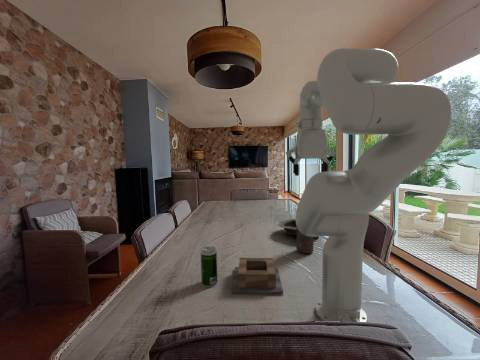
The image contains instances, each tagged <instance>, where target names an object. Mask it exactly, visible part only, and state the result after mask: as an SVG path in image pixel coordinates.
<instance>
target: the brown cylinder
mask: <svg viewBox="0 0 480 360" xmlns="http://www.w3.org/2000/svg"><path fill="white" fill-rule="evenodd" d="M295 246H296V251H298V252H299V253H305V254H309V253H313V252H314V239H313V236H306V235H304V234H302V233H301V232H300V231H299V230H298V228H297V235H296V245H295Z"/></svg>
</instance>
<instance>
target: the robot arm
mask: <svg viewBox="0 0 480 360" xmlns="http://www.w3.org/2000/svg"><path fill="white" fill-rule="evenodd" d="M398 72H399V63H398V60H397V58H396V57H395V55H394V54H393V53H392V52H390V51H387V50H384V49H381V48H343V47H342V48H336V49H334V50H332V51H330V52H329V53H327V54H326V55H325V57H324V58H323V59H322V60H321V63H320V65H319V67H318V70H317V75H316V80H310V81H307V82H306V83H305V84H304V86H303V87H302V88H301V91H300V93H299V122H295V127H296V128H298V129H299V130H297V133H296V140H295V147H293V148H290V149H289V150H287V151H285V155H286V156H287V159H288V161H290V162H291V164H292V166H293V167H292V170H293V171H292V173H293V174H294V176H296V177H298V176H300V165H299V162H300V161H301V160H303V159H305V160H307V159H310V160H311V159H319V160H320V161H321V162H322V163H321V165H320V166H321V167H320V168H321V171H320V172H317V173H316V174H313V175H312V176H311V177H310V178H309V180H308V181H307V183H306V186H305V188H304V190H303V193H302V195H301V197H300V200H299V201H298V204H297V206H296V207H297V208H296V210H295V217H294V219H295V220H296V225H297V228H298V230H299V231H300V232H301V233H302V234H304V235H306V236H316V237H317V236H319V237H327V239H326V241H325V242H324V245H323V247H322V264H321V265H322V268H321V269H322V272H321V273H322V274H321V278H322V279H321V299H319V300H318V301H317V303H316V304H315V312H316V315H317V317H318V318H319V320H321V321H322V322H323V321H340V322H367V323H368V315H367V313H366V311H365V310H364V309H363V308H362V288H363V287H362V286H363V263H364V261H363V257H364V244H365V238H366V234H367V230H368V226H369V222H370V221H369V220H370V213H371V212H374V211H375V210H377V209H378V208H379V207H380V206H381V205H382V203H384V202H385V201H386V199H388V197H389V196H390V195H392V193H393V192H394V191H395V190H397V188H398V187H399V186H400V185H401V183H403V181H404V180H406V178H407V177H409V176H410V175H411V174H412V173H414V171H416V170H417V169H418V168H419V167H421V165H423V164H424V163H425V162H426V161H427V160H428V159H430V157H431V156H433V154H434V153H435V152H436V151H437V149H438V148H439V147H440V146H441V144H442V143H443V141H444V139H445V138H446V136H447V133H448V131H449V127H450V124H451V120H452V106H451V101H450V99H449V97H448V95H447V94H446V93H445V92H444V91H443V90H442V89H440V88H438V87H437V86H434V85H430V84H427V83H426V84H425V83H419V82H394V80H395V79H396V78H397V75H398V74H399V73H398ZM323 107H325V109H326V111H327V114H328V116H329V119H330V121H331V123H332V125H333V127H335V129H336V130H337V131H338V132H340V133H342V134H345V135H353V136H354V135H360V136H361V135H386V136H385V137H384V138H382V139H381V140H379V141H376V143H374V144H373V145H371V146H370V147H368V148H367V149H366V150H365V151H364V152H363V153H362V154H361V155H360V157H359V158H358V159H357V161H356V163H355V164H354V166H353V167H352V168H350V169H346V170H334V171H333V170H332V171H330V170H329V169H328V167H329V164H330V162H331V161H332V160H334V157H335V155H336V150H334V149H333V148H331V147H328V141H327V134H326V129H324V128H323V114H324V113H323V112H324V111H323V109H324V108H323ZM292 153H294V154H295V158H294V157H293V156H292ZM328 153H329V154H328Z"/></svg>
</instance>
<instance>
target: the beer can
mask: <svg viewBox="0 0 480 360" xmlns="http://www.w3.org/2000/svg"><path fill="white" fill-rule="evenodd" d="M217 255H218V251H217V248H216V247H214V246H204V247H202V248H201V249H200V273H201V275H200V276H201V278H200V279H201V280H200V281H201V285H202V286H203V287H204V288H213V287H215V286H216V285H217V284H218V256H217Z"/></svg>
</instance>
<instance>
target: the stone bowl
mask: <svg viewBox="0 0 480 360" xmlns="http://www.w3.org/2000/svg"><path fill="white" fill-rule="evenodd" d="M277 226H278V227H280V228H283V230H284V232H285V234H288V235H292V236H297V225H296V220H295V218H291V219H285V220H283V221H280V222H279V223H277ZM318 238H320V236H317V237H316V236H313V240H316V239H318Z"/></svg>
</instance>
